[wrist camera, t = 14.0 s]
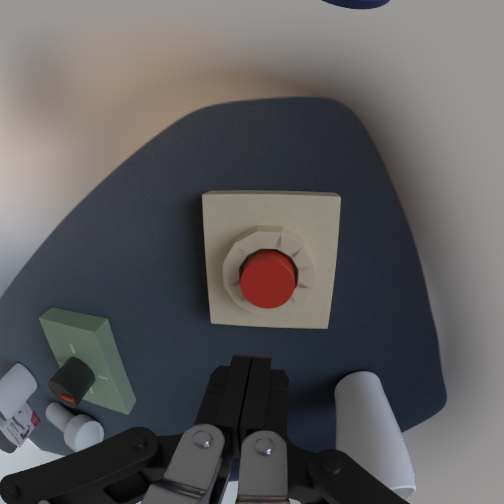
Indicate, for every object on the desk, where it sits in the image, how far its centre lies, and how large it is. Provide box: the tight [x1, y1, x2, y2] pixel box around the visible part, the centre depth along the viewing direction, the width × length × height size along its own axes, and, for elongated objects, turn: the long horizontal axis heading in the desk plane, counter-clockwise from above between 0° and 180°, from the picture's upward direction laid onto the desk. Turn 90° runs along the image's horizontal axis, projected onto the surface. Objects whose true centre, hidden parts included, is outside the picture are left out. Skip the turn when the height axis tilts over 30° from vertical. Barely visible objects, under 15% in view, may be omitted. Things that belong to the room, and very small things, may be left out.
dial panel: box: [39, 307, 136, 414], centre depth 30 cm, size 14×10×3 cm
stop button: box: [240, 251, 295, 309], centre depth 19 cm, size 4×4×2 cm
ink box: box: [0, 402, 40, 447], centre depth 39 cm, size 9×5×12 cm, turn 0°
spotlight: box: [46, 402, 104, 452], centre depth 35 cm, size 8×11×8 cm
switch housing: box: [202, 190, 341, 329], centre depth 22 cm, size 11×10×4 cm
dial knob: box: [48, 357, 95, 408], centre depth 26 cm, size 4×4×5 cm
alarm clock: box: [0, 430, 18, 453], centre depth 45 cm, size 16×11×16 cm
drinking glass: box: [334, 371, 417, 500], centre depth 20 cm, size 7×7×15 cm
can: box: [0, 363, 37, 421], centre depth 32 cm, size 6×6×12 cm
